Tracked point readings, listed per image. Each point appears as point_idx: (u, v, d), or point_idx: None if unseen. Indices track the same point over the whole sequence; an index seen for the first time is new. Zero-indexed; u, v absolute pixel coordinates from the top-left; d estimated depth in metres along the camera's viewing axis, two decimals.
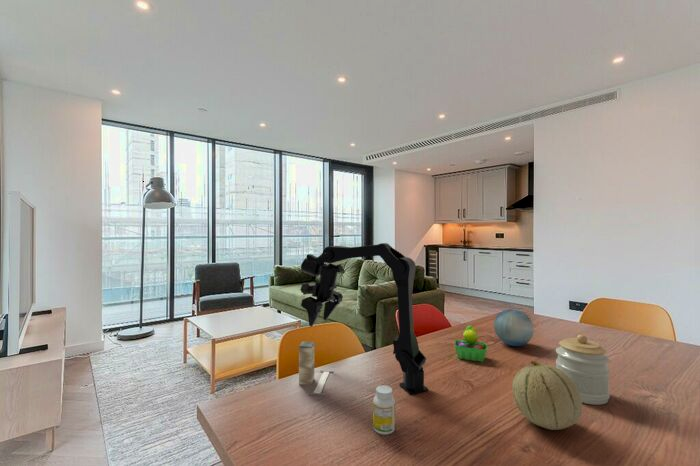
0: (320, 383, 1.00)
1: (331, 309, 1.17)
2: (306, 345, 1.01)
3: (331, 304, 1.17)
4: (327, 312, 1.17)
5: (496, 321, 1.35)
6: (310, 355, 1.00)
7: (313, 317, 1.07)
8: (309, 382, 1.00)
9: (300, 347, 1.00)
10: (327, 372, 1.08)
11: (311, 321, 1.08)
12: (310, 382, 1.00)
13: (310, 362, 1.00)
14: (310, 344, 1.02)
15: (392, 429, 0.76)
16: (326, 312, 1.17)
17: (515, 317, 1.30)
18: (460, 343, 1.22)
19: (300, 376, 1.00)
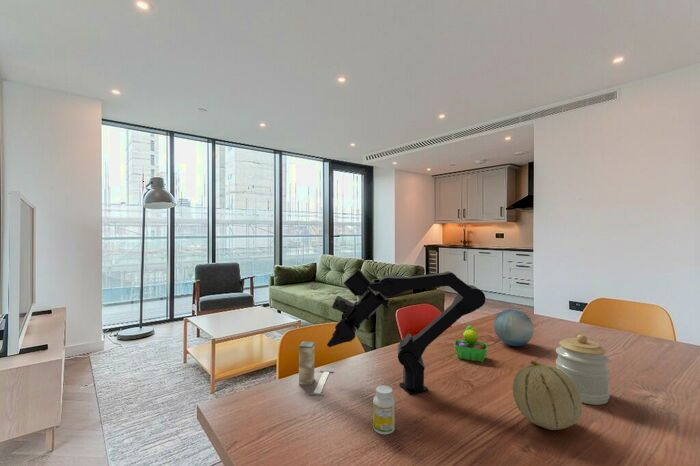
0: (320, 383, 1.00)
1: None
2: (306, 345, 1.01)
3: None
4: None
5: (496, 321, 1.35)
6: (310, 355, 1.00)
7: (338, 341, 0.95)
8: (309, 382, 1.00)
9: (300, 347, 1.00)
10: (327, 372, 1.08)
11: (333, 343, 0.95)
12: (310, 382, 1.00)
13: (310, 362, 1.00)
14: (310, 344, 1.02)
15: (392, 429, 0.76)
16: None
17: (515, 317, 1.30)
18: (460, 343, 1.22)
19: (300, 376, 1.00)
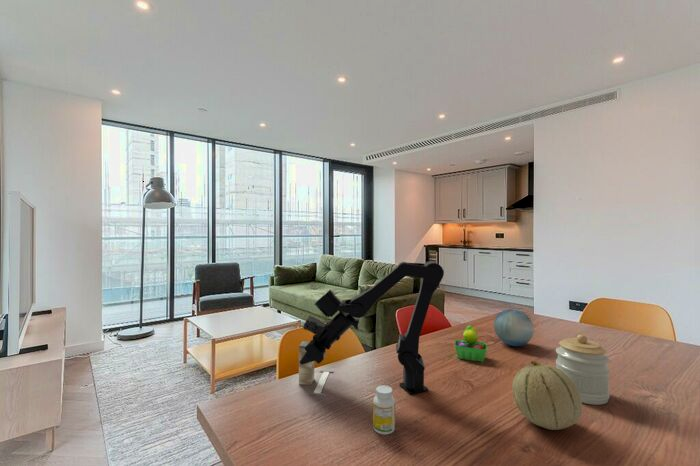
0: (320, 383, 1.00)
1: None
2: None
3: None
4: None
5: (496, 321, 1.35)
6: None
7: (310, 359, 0.98)
8: (309, 382, 1.00)
9: (300, 347, 1.00)
10: (327, 372, 1.08)
11: (305, 360, 0.99)
12: (310, 382, 1.00)
13: (310, 362, 1.00)
14: None
15: (392, 429, 0.76)
16: None
17: (515, 317, 1.30)
18: (460, 343, 1.22)
19: (300, 376, 1.00)
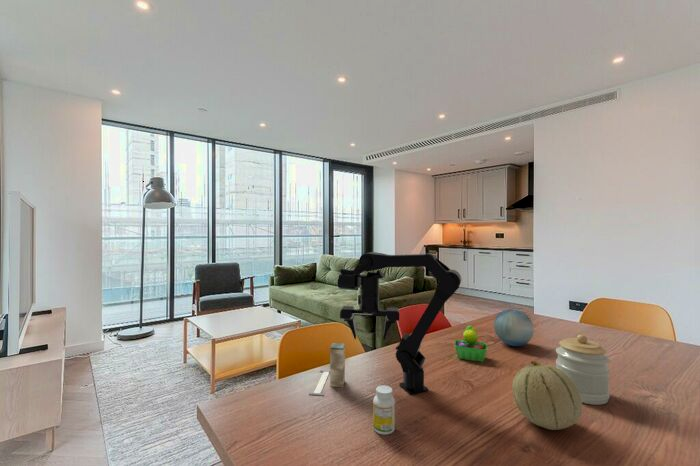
0: (320, 383, 1.00)
1: (384, 328, 1.01)
2: (337, 347, 0.99)
3: (385, 322, 1.01)
4: None
5: (496, 321, 1.35)
6: (342, 357, 0.99)
7: None
8: (341, 384, 0.99)
9: (331, 349, 0.99)
10: (327, 372, 1.08)
11: None
12: (341, 384, 0.99)
13: (342, 364, 0.99)
14: (341, 346, 1.00)
15: (392, 429, 0.76)
16: None
17: (515, 317, 1.30)
18: (460, 343, 1.22)
19: (331, 378, 0.99)
